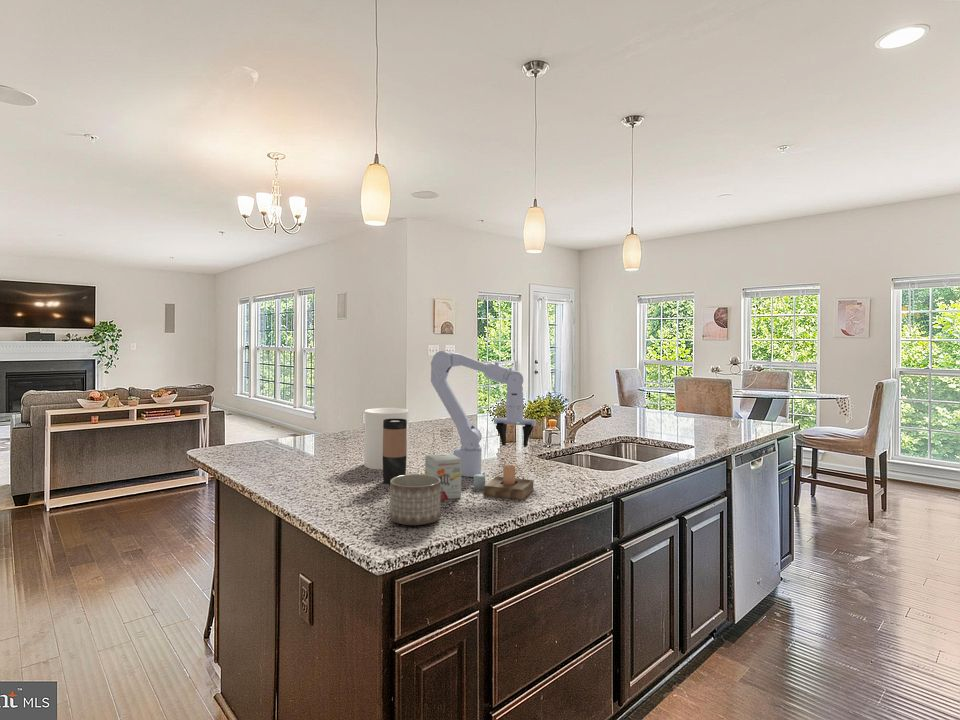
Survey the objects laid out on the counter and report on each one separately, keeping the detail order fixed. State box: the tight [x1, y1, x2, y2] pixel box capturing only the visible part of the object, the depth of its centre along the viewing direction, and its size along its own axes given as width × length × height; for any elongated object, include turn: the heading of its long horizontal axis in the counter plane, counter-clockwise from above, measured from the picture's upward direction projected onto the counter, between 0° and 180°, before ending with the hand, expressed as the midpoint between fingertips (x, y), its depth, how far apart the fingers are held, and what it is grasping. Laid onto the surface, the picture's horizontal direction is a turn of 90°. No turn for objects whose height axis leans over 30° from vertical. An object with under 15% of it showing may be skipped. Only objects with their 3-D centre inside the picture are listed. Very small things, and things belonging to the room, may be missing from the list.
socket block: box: [483, 475, 534, 501], centre depth 163 cm, size 12×12×3 cm
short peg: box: [473, 474, 486, 491], centre depth 167 cm, size 4×4×4 cm
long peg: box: [502, 464, 516, 485], centre depth 163 cm, size 4×4×8 cm
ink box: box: [424, 453, 462, 501], centre depth 159 cm, size 9×9×12 cm
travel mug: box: [382, 419, 407, 485], centre depth 174 cm, size 8×8×20 cm
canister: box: [363, 407, 410, 471], centre depth 198 cm, size 16×16×20 cm
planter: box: [389, 473, 441, 526], centre depth 136 cm, size 13×13×10 cm
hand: (514, 445), depth 183 cm, fingers open, 7 cm apart
